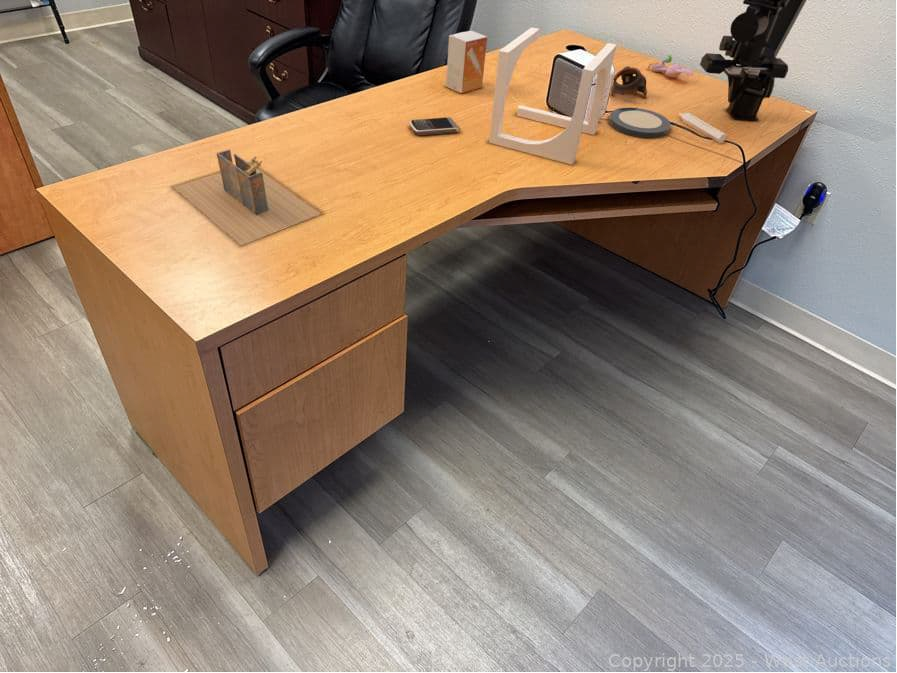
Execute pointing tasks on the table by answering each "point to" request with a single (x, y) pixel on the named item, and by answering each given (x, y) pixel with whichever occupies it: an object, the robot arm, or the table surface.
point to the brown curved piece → (629, 82)
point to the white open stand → (568, 139)
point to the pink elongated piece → (670, 68)
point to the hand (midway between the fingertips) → (730, 102)
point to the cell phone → (434, 126)
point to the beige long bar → (703, 127)
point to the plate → (639, 122)
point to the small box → (466, 61)
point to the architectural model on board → (245, 200)
